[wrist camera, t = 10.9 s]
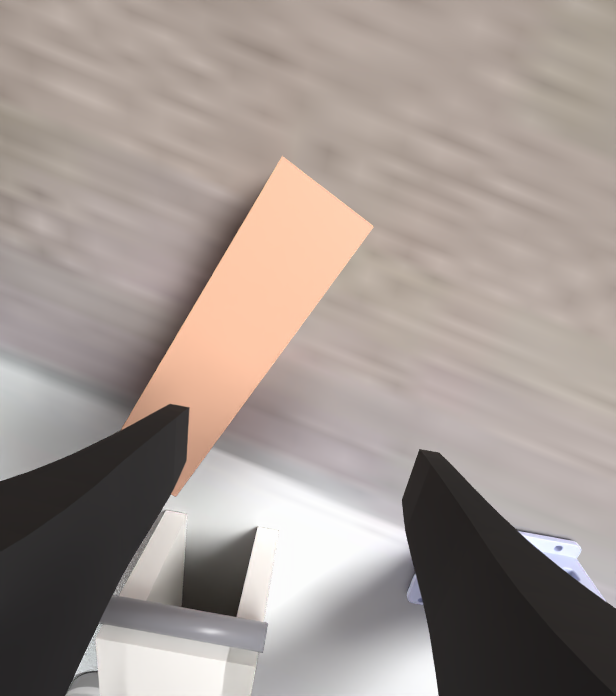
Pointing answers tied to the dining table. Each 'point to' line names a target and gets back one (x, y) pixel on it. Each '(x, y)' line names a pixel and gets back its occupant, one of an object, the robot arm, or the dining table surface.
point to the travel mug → (85, 685)
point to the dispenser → (182, 625)
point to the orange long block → (253, 306)
